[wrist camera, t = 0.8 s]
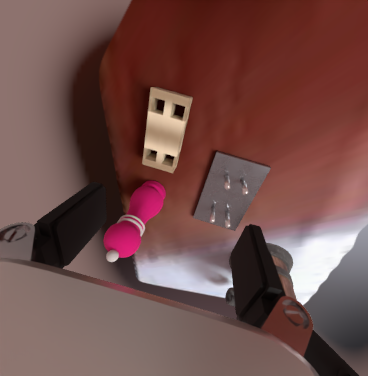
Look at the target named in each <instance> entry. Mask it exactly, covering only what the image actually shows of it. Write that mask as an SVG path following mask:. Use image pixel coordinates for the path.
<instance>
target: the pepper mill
mask: <svg viewBox="0 0 368 376" xmlns="http://www.w3.org/2000/svg"><path fill="white" fill-rule="evenodd" d="M165 195H166V192H165V189H164V187H163V186H162V185H161V184H160V183H158V182H156V181H146V182H145V183H144V184H143V185H142V186H141V187H139V188H138V189H136V190H135V191H134V193H133V194H132V196H131V199H130V207H129V211H128V213H127V214H126V215H124V216H122V217H121V218H120V220H119V221H118V222H117V223H116V224H114V225H112V226H111V227H110V228H109V229H108V230H107V232H106V234H105V236H104V245H105V248H106V250H107V251H108V253H107V255H106V258H107V260H108V261H110V262H114V261H116V260H117V259H118V257H121V258H123V257H128V256H130V255H132V254H134V253H135V252H136V251H137V249H138V248H139V246H140V243H141V236H142V234H143V232H144V230H145V226H144V225H145V223H146V222H147V221H148V220H149V219H150V218H152V217H154V216H155V215H156V214H158V213H159V212H160V210H161V208H162V206H163V200H164V198H165Z"/></svg>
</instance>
